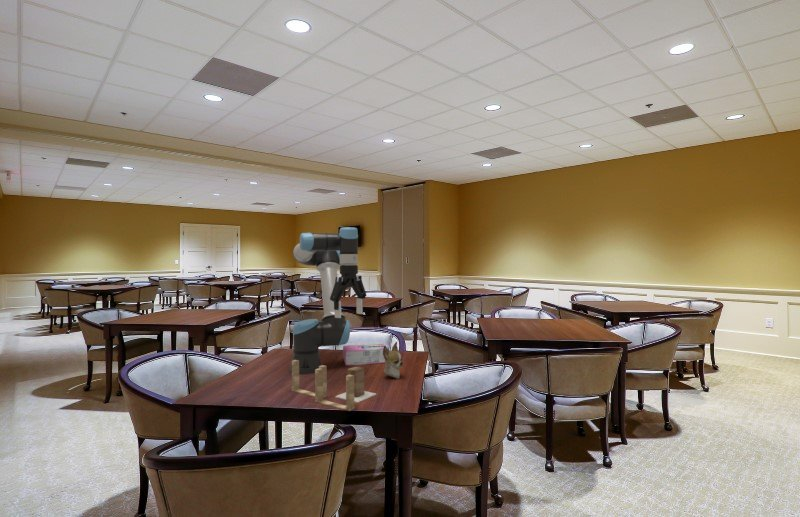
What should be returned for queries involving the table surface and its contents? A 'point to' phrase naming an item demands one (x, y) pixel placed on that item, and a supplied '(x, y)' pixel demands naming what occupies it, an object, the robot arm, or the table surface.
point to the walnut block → (357, 380)
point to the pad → (358, 399)
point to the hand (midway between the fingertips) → (349, 315)
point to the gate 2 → (319, 399)
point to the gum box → (363, 354)
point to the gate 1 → (296, 379)
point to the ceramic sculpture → (392, 361)
